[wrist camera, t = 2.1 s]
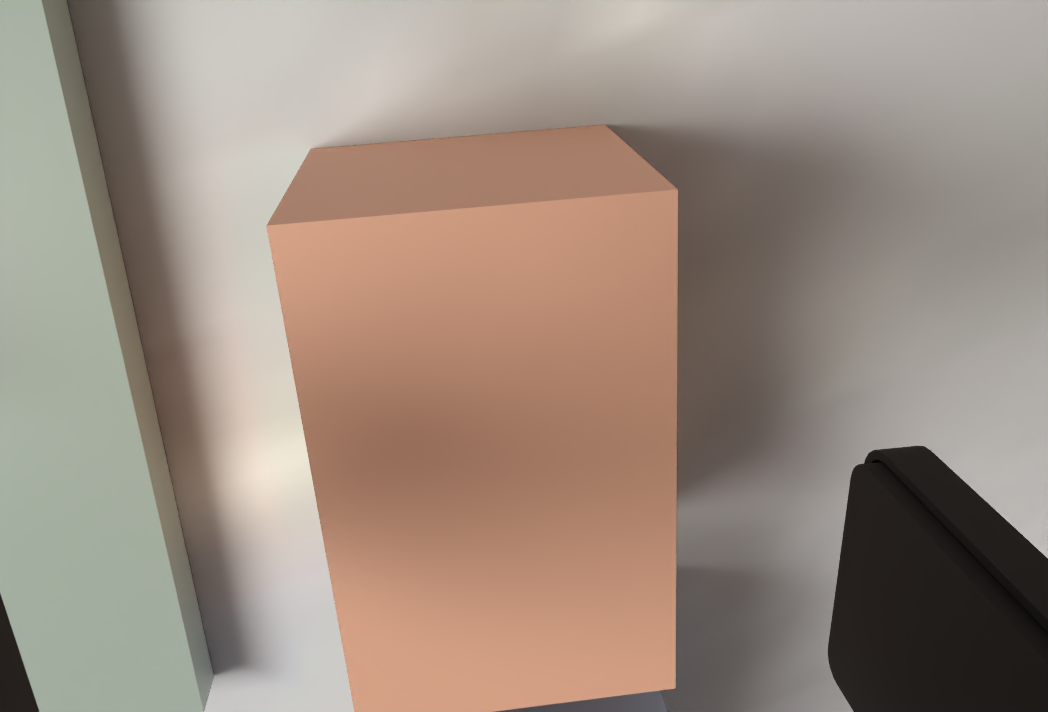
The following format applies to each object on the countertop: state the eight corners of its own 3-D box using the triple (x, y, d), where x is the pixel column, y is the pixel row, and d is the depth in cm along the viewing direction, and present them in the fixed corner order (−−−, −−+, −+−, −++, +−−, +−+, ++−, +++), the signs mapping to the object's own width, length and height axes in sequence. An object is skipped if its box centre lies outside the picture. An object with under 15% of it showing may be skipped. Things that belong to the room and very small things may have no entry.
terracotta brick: (603, 123, 16) (677, 189, 11) (614, 513, 19) (675, 688, 14) (311, 147, 15) (266, 225, 11) (372, 541, 19) (358, 729, 14)
